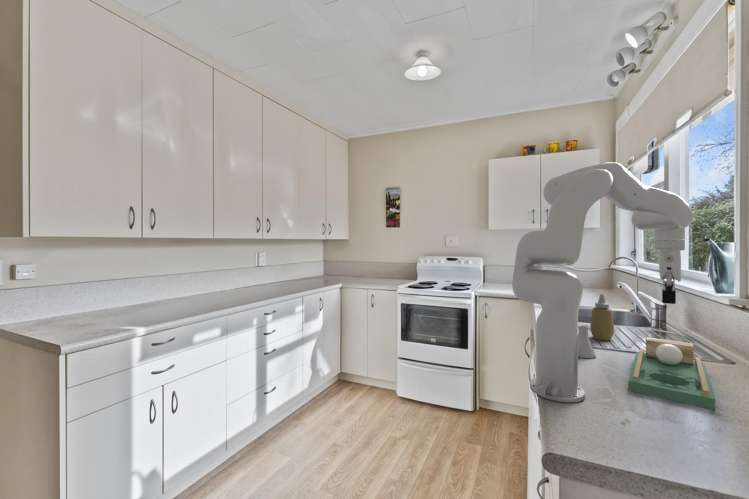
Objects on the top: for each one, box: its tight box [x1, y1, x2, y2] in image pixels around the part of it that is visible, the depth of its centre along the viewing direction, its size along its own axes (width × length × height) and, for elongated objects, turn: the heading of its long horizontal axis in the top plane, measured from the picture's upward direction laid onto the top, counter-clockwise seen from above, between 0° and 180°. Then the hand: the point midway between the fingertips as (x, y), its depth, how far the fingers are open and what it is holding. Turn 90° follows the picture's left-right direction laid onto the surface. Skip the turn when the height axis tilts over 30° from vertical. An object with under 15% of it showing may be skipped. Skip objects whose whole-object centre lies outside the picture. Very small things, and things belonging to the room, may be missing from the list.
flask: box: [578, 325, 597, 359], centre depth 114 cm, size 7×7×10 cm
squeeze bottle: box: [589, 293, 615, 342], centre depth 133 cm, size 8×8×18 cm
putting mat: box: [627, 347, 716, 411], centre depth 93 cm, size 30×16×4 cm, turn 139°
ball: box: [656, 344, 683, 365], centre depth 98 cm, size 6×6×6 cm
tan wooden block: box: [645, 336, 694, 364], centre depth 103 cm, size 4×11×5 cm, turn 49°
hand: (668, 301), depth 108 cm, fingers open, 4 cm apart
